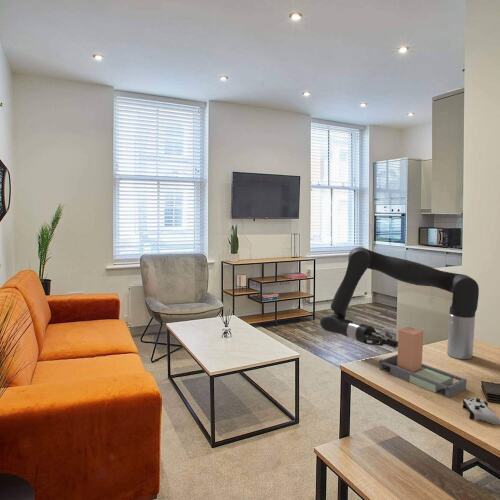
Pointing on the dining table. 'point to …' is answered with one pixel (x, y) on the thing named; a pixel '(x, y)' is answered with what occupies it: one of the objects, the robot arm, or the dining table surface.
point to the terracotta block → (410, 349)
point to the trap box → (426, 377)
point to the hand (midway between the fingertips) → (397, 344)
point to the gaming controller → (480, 410)
